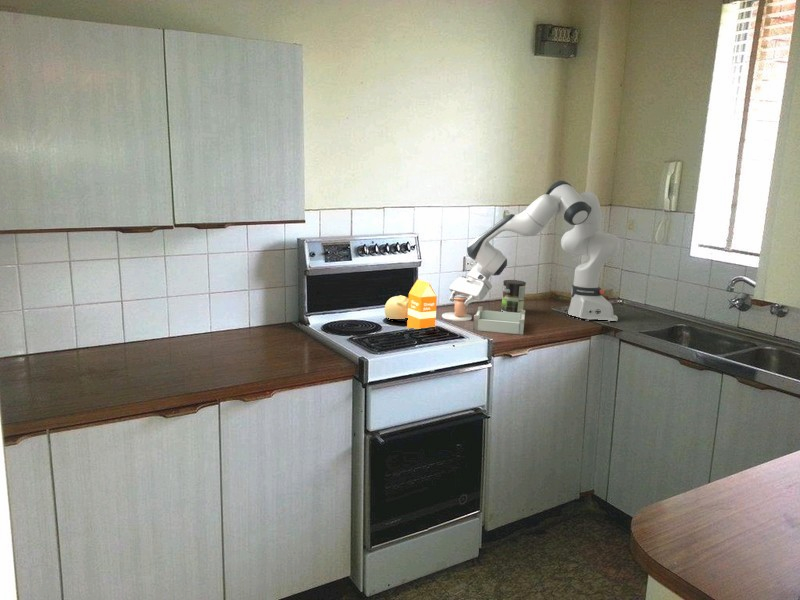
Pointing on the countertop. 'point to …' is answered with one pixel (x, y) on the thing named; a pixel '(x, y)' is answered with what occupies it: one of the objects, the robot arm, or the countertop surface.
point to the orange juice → (421, 306)
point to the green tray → (499, 321)
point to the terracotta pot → (460, 306)
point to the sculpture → (397, 307)
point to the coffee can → (513, 296)
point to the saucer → (456, 317)
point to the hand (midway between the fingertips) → (457, 302)
